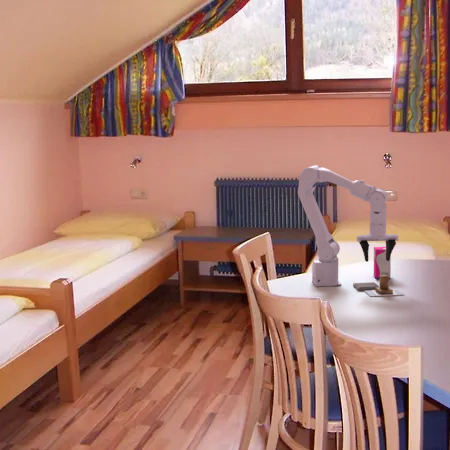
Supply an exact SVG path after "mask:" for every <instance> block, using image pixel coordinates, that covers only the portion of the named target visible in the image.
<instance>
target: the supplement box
mask: <svg viewBox="0 0 450 450" xmlns="http://www.w3.org/2000/svg"><path fill="white" fill-rule="evenodd" d="M391 258H392V257H391V256H390V260H389V261H387V260H386V246H374V247H373V276H374V279H375V280H380V275H388V276H389V280H390V279H391V273H392V272H391V270H392V269H391V265H392V264H391V261H392V260H391Z"/></svg>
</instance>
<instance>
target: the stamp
mask: <svg viewBox="0 0 450 450" xmlns="http://www.w3.org/2000/svg"><path fill="white" fill-rule="evenodd" d="M389 280H390V279H389V276H388V275H380V279H379V287H376V292H377V293H379V294H380V295H383V294H393V290H394V289H393V288H391V287H390V285H389V284H390V283H389V282H390V281H389Z"/></svg>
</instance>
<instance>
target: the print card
mask: <svg viewBox="0 0 450 450" xmlns="http://www.w3.org/2000/svg"><path fill="white" fill-rule="evenodd" d="M392 290H393V294H383V295H380V294H379V293H377V292H376V290H371V291H364V292H365V294H366V295H367V296H369V297H370V298H376V297H375V296H380V297H397V296H399V297H400V295H403V296H405V293H403V292H402V291H400V290H399V289H395V288H394V289H392Z"/></svg>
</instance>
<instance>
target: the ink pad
mask: <svg viewBox="0 0 450 450" xmlns="http://www.w3.org/2000/svg"><path fill="white" fill-rule="evenodd" d="M352 285H353V287H354V289H356V291H358V292H365V291H371V290H376V287H380V285H378V284H377V283H376V282H374V281H373V282H372V281H371V282H354V283H352Z"/></svg>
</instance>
